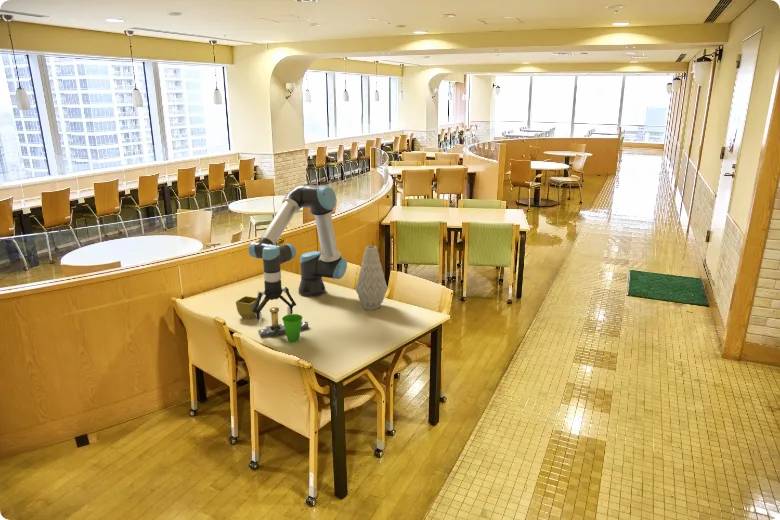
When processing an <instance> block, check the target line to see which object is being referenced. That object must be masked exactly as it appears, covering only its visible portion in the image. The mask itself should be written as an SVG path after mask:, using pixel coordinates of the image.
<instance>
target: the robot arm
mask: <svg viewBox="0 0 780 520" xmlns="http://www.w3.org/2000/svg"><path fill="white" fill-rule="evenodd" d="M336 196H337V195H336V193H335V190H334V189H333V188H332V187H331V186H327V185H316V184H315V185H313V184H300V185H297V186H295V188H293V189H291V190H290V191H289V192H288V193H287V194H286V195H285V197H284V198H283V199H282V202H281V204H282V205H281V206H280V207H279V209H278V211H277V212H276V214H275V215H274V216H273V218H272V220H271V221H270V223H269V224H268V226H267V228H266V229H265V230H264V232H263V234H262V235H261V236H260V238H259V240H258V241H252V242H251V243H250V244H249V245H248V250H247V251H248V255H249V256H250V257H251V258H254V259H257V260H259V259H262V265H263V280H264V291H260V290H258V291H257V297H256V298H257V299H256V301H255V303H254V306H253V308H252V311H253V313H256V315H255V317H256V319H257V320H258V324H259V326H260V328H261V327H263V320H262V319H263V317H262V315H263V314H262V310H263V309H264V307H265V306H266V305H267V303H268V302H269V301H270V300H271V301H273V300H278V299H280V300H281V301H283V303H284V304H286V305H287V306H286V310H287V315H289V314H294V312H293V309H294V307H297V303H296V302H295V300H294V299H293V297H292V295H291V293H290V290H289V288H288V287H286V286H285V287H284V288H282V280H281V279H282V274H281V271H282V270H281V265H283V264H285V263H287V262H289V261H291V260H293V259H294V258H295V257H296V255H297V250H296V247H295V246H294V245H293V244H291V243H286V244H283V245H282V244H280V245H279V244H277V242H278V241H279V239H280V238H281V236H282V234H283V232H284V231H285V229H286V228H287V226H288V225H289V223H290V222H291V220H292V218H293V217H294V215H295V214H296V213H299V211H300V209H302V208H308V209H309V210H310V214H311V215H313V216H314V219H315V225H316V229H317V235H318V240H319V245H320V250H319V251H314V250H313V251H309V252H305V253H303V254H301V255H300V258H299V263H300V264H299V265H300V279H301V280H300V283H299V285H298V294H299V295H300V296H303V297H309V298H310V297H318V296H321V295H324V294H326V286H325V283H324V280H323V278H329V279H332V280H339V279H342V278H343V277H344V276H345V274H346V271H347V269H348V261H347V259H346V258H344V257H342V253H341V252H340V251H339V250H338V246H337V240H336V233H335V229H334V223H333V218H332V217H333V216H332V212H333V211H334V209H335V207H336V204H337V203H336V202H337V197H336ZM283 293H284V294H286V296H287V297H288V299H289V300H290V302H291V303H290V302H289V301H288V300H287V299H286V298H285V297H284V296H283V295H282V294H283ZM262 298H263V300H262ZM261 300H262V301H261ZM258 305H259V306H258ZM257 307H258V308H257Z"/></svg>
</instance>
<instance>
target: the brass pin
mask: <svg viewBox="0 0 780 520" xmlns="http://www.w3.org/2000/svg"><path fill="white" fill-rule="evenodd" d="M269 312H270V313H271V314H270V316H271V326H272V330H278V329H279V325H278V324H279V314H278V313H279V312H280V307H276V306H274V307H271V308H269Z"/></svg>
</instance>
